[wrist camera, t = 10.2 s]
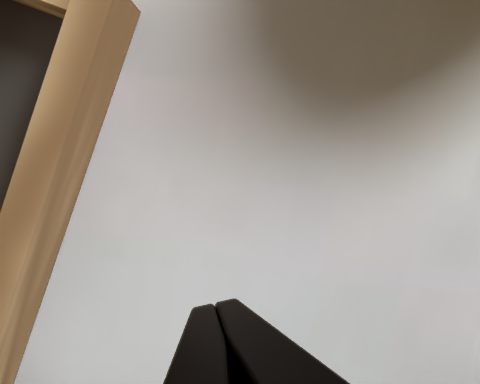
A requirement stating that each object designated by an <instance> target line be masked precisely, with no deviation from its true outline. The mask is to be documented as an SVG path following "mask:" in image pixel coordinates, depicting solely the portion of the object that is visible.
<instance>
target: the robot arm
mask: <svg viewBox="0 0 480 384" xmlns="http://www.w3.org/2000/svg"><path fill="white" fill-rule="evenodd" d="M163 384H350V383H348V382H347V381H346V380H344V379H343V378H342V377H340V376H339V375H338V374H336V373H335V372H334V371H332V370H331V369H330V368H328V367H327V366H326V365H324V364H323V363H322V362H320V361H319V360H318V359H316V358H315V357H314V356H312V355H311V354H310V353H308V352H307V351H306V350H304V349H303V348H302V347H300V346H299V345H298V344H296V343H295V342H293V341H292V340H291V339H289V338H288V337H287V336H285V335H284V334H283V333H281V332H280V331H279V330H277V329H276V328H275V327H273V326H272V325H271V324H269V323H268V322H267V321H265V320H264V319H263V318H261V317H260V316H259V315H257V314H256V313H255V312H253V311H252V310H251V309H249V308H248V307H247V306H245V305H244V304H243V303H241V302H240V301H239V300H237V299H229V300H225V301H220V302H217V303H216V304H215V306H214V305H213V304H207V305H202V306H198V307H194V308H193V309H192V311H191V313H190V315H189V318H188V321H187V323H186V326H185V328H184V331H183V334H182V336H181V339H180V341H179V344H178V346H177V349H176V352H175V354H174V357H173V359H172V362H171V365H170V367H169V370H168V372H167V375H166V378H165V380H164V383H163Z"/></svg>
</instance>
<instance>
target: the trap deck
mask: <svg viewBox="0 0 480 384" xmlns="http://www.w3.org/2000/svg"><path fill="white" fill-rule="evenodd" d="M140 13H141V12H140V10H139V9H138V8H137V7H136V6H135V5H134V3H133V2H132V1H131V0H0V384H14V381H15V378H16V375H17V372H18V369H19V366H20V363H21V360H22V357H23V354H24V351H25V348H26V346H27V343H28V340H29V337H30V334H31V331H32V328H33V325H34V322H35V319H36V316H37V313H38V311H39V308H40V305H41V302H42V299H43V296H44V293H45V290H46V287H47V284H48V281H49V278H50V275H51V273H52V270H53V267H54V264H55V261H56V258H57V255H58V252H59V249H60V246H61V243H62V240H63V238H64V235H65V232H66V229H67V226H68V223H69V220H70V217H71V214H72V211H73V208H74V205H75V202H76V200H77V197H78V194H79V191H80V188H81V185H82V182H83V179H84V176H85V173H86V170H87V167H88V164H89V162H90V159H91V156H92V153H93V150H94V147H95V144H96V141H97V138H98V135H99V132H100V129H101V127H102V124H103V121H104V118H105V115H106V112H107V109H108V106H109V103H110V100H111V97H112V94H113V91H114V89H115V86H116V83H117V80H118V77H119V74H120V71H121V68H122V65H123V62H124V59H125V56H126V54H127V51H128V48H129V45H130V42H131V39H132V36H133V33H134V30H135V27H136V24H137V21H138V18H139V16H140Z"/></svg>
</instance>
